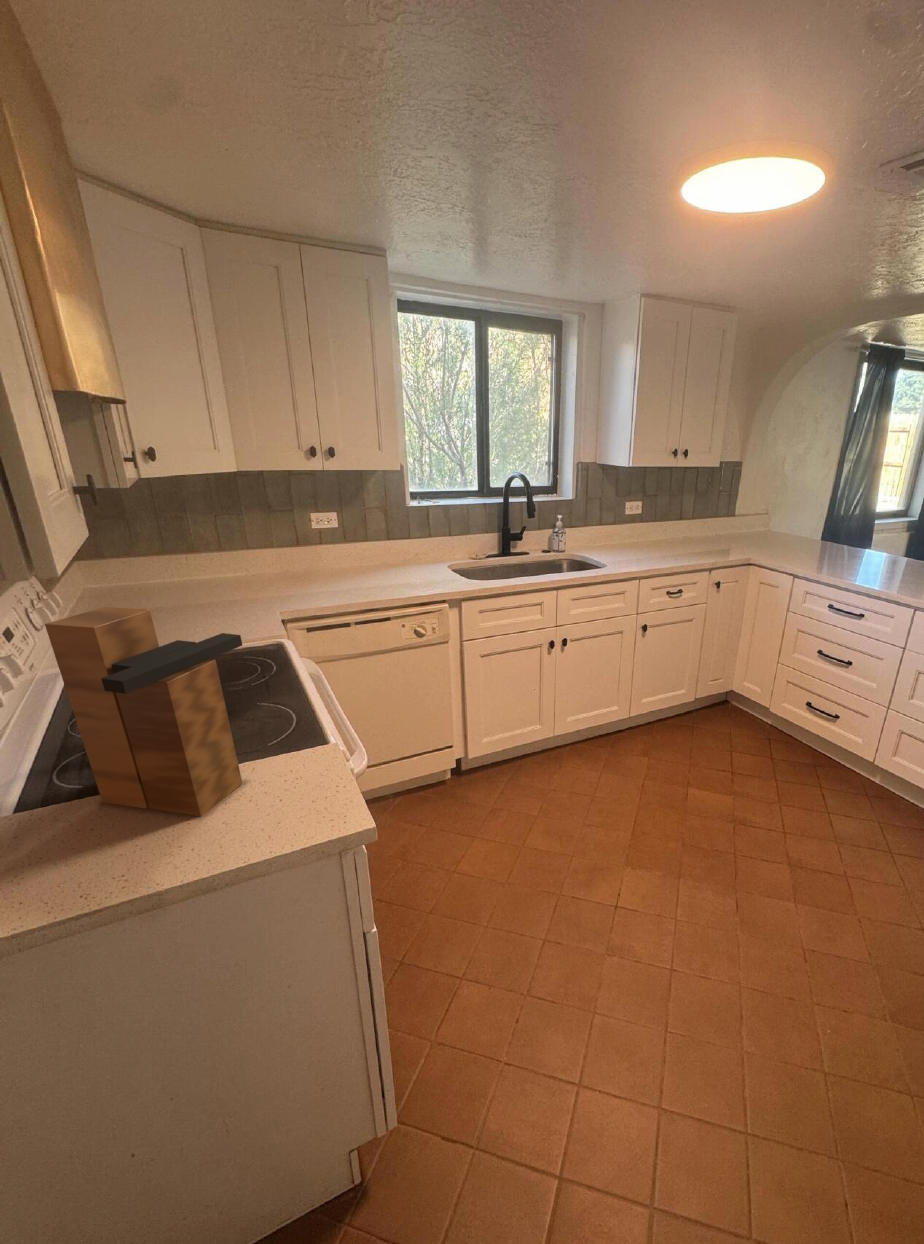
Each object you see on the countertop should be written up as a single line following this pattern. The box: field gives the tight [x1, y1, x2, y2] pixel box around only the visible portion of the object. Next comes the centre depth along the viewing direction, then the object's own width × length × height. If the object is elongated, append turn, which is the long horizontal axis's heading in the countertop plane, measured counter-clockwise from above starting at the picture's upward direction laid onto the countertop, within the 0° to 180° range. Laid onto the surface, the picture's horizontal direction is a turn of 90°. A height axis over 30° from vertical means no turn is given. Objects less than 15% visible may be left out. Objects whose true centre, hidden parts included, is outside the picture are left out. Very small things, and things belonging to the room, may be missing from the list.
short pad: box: [112, 639, 197, 673], centre depth 92 cm, size 12×4×2 cm, turn 165°
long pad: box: [101, 632, 243, 694], centre depth 91 cm, size 22×4×2 cm, turn 164°
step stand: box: [44, 606, 243, 817], centre depth 95 cm, size 10×20×32 cm, turn 79°
